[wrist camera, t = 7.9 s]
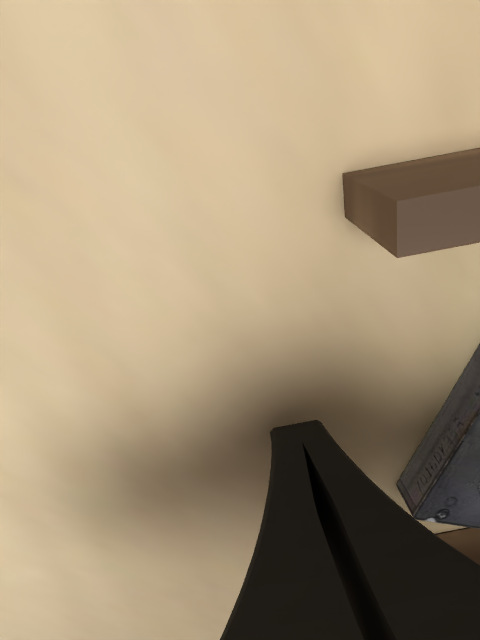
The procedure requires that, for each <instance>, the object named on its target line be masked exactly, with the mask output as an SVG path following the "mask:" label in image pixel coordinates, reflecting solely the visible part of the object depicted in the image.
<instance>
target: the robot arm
mask: <svg viewBox="0 0 480 640" xmlns="http://www.w3.org/2000/svg"><path fill="white" fill-rule="evenodd" d="M270 436H271V443H272V459H271V471H270V480H269V488H268V494H267V499H266V504H265V510H264V515H263V519H262V524H261V528H260V532H259V536H258V539H257V543H256V546H255V550H254V553H253V556H252V559H251V562H250V565H249V568H248V571H247V575H246V577H245V580H244V583H243V586H242V588H241V591H240V594H239V596H238V598H237V601H236V603H235V606H234V608H233V611H232V613H231V615H230V618H229V620H228V623H227V625H226V627H225V630H224V632H223V634H222V636H221V638H220V640H480V565H479V564H478V563H476V562H475V561H473V560H472V559H470V558H469V557H467V556H466V555H464V554H463V553H461V552H460V551H458V550H457V549H455V548H454V547H452V546H451V545H449V544H448V543H446V542H445V541H444V540H442V539H441V538H439V537H438V536H436V535H435V534H434V533H432V532H431V531H430V530H429V529H427V528H426V527H425V526H423V525H422V524H421V523H419V522H418V521H417V520H416V519H414V518H413V517H412V516H411V515H409V514H408V513H407V512H406V511H404V510H403V509H402V508H401V507H400V506H399V505H397V504H396V503H395V502H394V501H393V500H392V499H391V498H389V497H388V496H387V495H386V494H385V493H384V492H383V491H382V490H381V489H380V488H379V487H378V486H376V485H375V484H374V483H373V482H372V481H371V480H370V479H369V478H368V477H367V476H366V475H365V474H364V473H363V472H362V471H361V470H360V468H359V467H358V466H357V465H356V464H355V463H354V462H353V461H352V460H351V459H350V458H349V457H348V456H347V455H346V453H345V452H344V451H343V450H342V449H341V448H340V446H339V445H338V444H337V443H336V442H335V440H334V439H333V438H332V437H331V435H330V434H329V433H328V432H327V430H326V429H325V428H324V426H323V425H322V423H321V422H319V421H318V420H313V421H308V422H303V423H297V424H292V425H287V426H282V427H276V428H273V429H272V430H271V431H270Z"/></svg>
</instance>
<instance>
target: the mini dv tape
mask: <svg viewBox="0 0 480 640" xmlns="http://www.w3.org/2000/svg"><path fill="white" fill-rule="evenodd" d="M397 487H398V489H399V491H400V493H401V495H402V497H403V499H404V501H405V503H406V504H407V506H408V508H409V510H410V512H411V514H412V516H413V518H414V519H416V520H423V521H430V522H437V523H443V524H450V525H457V526H464V527H471V528H478V529H480V344H479V346H478V347H477V349H476V351H475V352H474V354H473V356H472V357H471V359H470V361H469V363H468V364H467V366H466V368H465V369H464V371H463V373H462V374H461V376H460V378H459V379H458V381H457V383H456V384H455V386H454V388H453V390H452V391H451V393H450V395H449V396H448V398H447V400H446V401H445V403H444V405H443V406H442V408H441V410H440V411H439V413H438V415H437V416H436V418H435V420H434V422H433V423H432V425H431V427H430V428H429V430H428V432H427V433H426V435H425V437H424V438H423V440H422V442H421V443H420V445H419V447H418V448H417V450H416V452H415V454H414V455H413V457H412V459H411V460H410V462H409V464H408V465H407V467H406V469H405V470H404V472H403V474H402V475H401V477H400V479H399V480H398V482H397Z"/></svg>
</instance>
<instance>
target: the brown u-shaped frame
mask: <svg viewBox="0 0 480 640" xmlns="http://www.w3.org/2000/svg"><path fill="white" fill-rule="evenodd" d="M343 186H344V203H345V217H346V218H347V219H348V220H349V221H351V222H352V223H353V224H355V225H356V226H357V227H358V228H360V229H361V230H362V231H363V232H365V233H366V234H367V235H369V236H370V237H371V238H372V239H374V240H375V241H376V242H377V243H379V244H380V245H381V246H382V247H384V248H385V249H386V250H388V251H389V252H390V253H391V254H393V255H394V256H395V257H396V258H400V257H405V256H410V255H416V254H421V253H426V252H432V251H437V250H442V249H447V248H453V247H458V246H463V245H469V244H474V243H479V242H480V148H477V149H472V150H466V151H461V152H456V153H450V154H445V155H440V156H434V157H429V158H424V159H418V160H413V161H407V162H402V163H397V164H391V165H386V166H381V167H375V168H370V169H365V170H359V171H354V172H349V173H343ZM436 536H438V537H439V538H441V539H442V540H444V541H445V542H446V543H448V544H449V545H451V546H452V547H454V548H455V549H457V550H458V551H460V552H461V553H463V554H464V555H466V556H467V557H469V558H470V559H472V560H473V561H475V562H476V563H478V564H479V565H480V529H478V528H468V529H463V530H458V531H453V532H448V533H442V534H437V535H436Z"/></svg>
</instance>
